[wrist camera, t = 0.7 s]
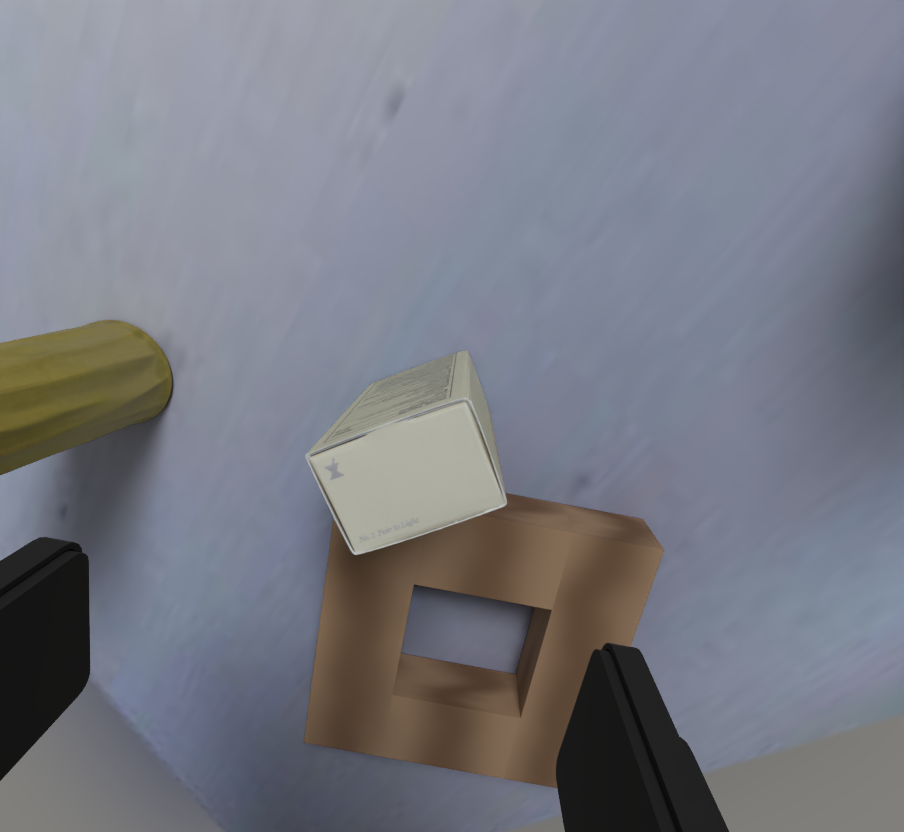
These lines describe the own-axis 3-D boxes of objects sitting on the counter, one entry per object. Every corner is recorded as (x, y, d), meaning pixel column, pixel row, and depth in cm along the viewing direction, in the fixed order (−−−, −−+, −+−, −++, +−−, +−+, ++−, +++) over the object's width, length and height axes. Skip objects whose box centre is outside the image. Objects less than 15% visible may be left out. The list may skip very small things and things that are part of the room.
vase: (95, 297, 28) (-264, 323, 14) (192, 360, 29) (-60, 441, 15) (54, 384, 30) (-305, 482, 16) (147, 441, 30) (-118, 582, 17)
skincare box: (396, 449, 30) (348, 563, 18) (367, 380, 29) (296, 456, 17) (496, 414, 29) (512, 511, 17) (470, 343, 28) (469, 395, 16)
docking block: (643, 519, 31) (664, 549, 27) (569, 742, 36) (579, 791, 32) (352, 464, 30) (337, 488, 27) (319, 697, 35) (303, 742, 32)
